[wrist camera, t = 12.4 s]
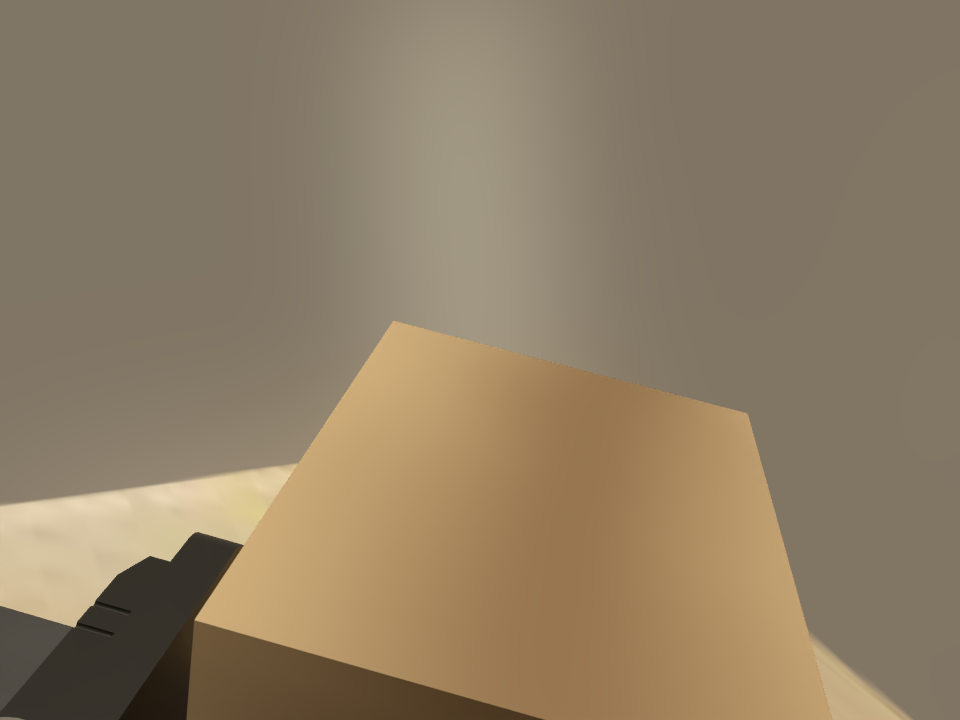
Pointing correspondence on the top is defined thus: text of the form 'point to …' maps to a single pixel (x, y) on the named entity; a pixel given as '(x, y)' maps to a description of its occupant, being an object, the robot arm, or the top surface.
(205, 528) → the top surface
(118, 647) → the robot arm
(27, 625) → the dark grey slab
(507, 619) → the tan wooden tall block
